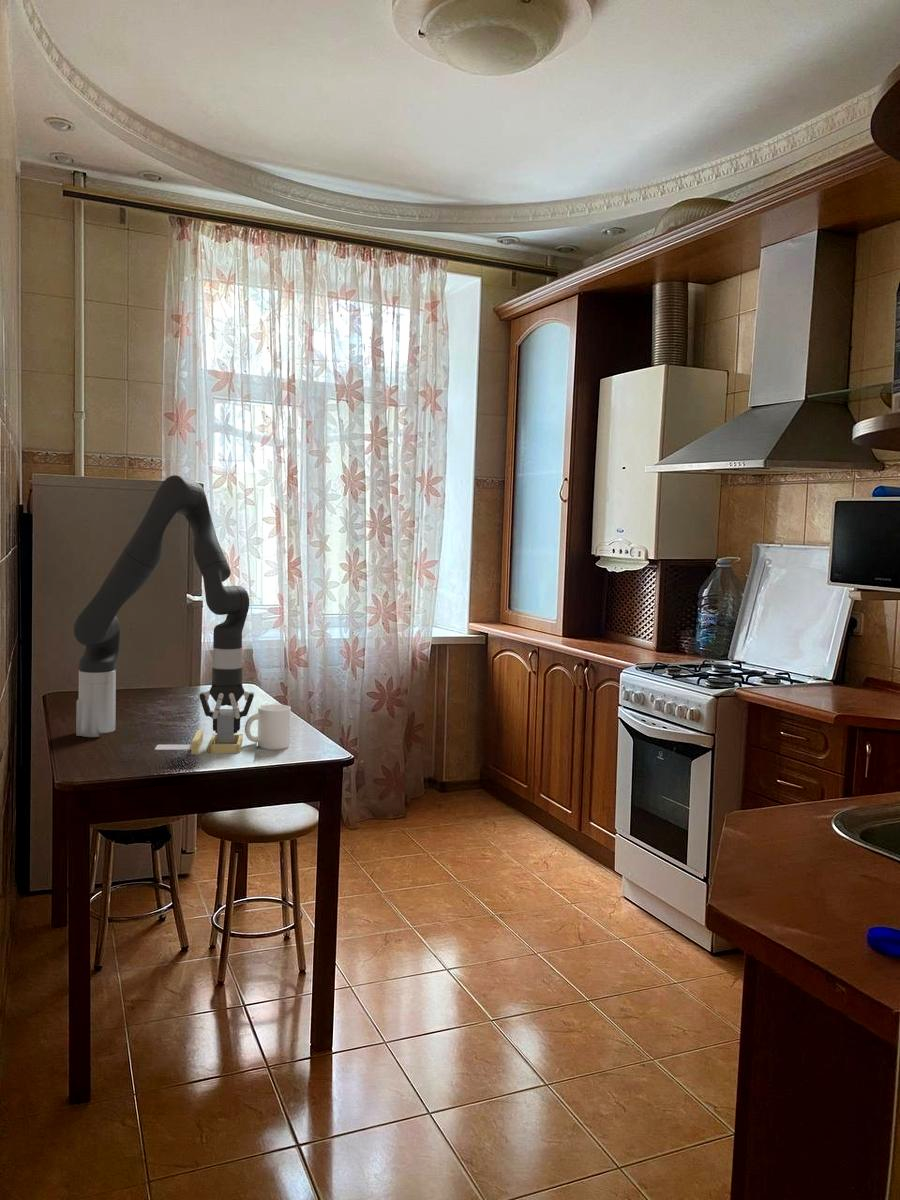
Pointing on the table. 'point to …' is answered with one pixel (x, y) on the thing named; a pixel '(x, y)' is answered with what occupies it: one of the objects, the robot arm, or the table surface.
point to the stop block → (225, 724)
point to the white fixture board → (211, 746)
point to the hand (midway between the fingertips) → (226, 732)
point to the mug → (271, 726)
